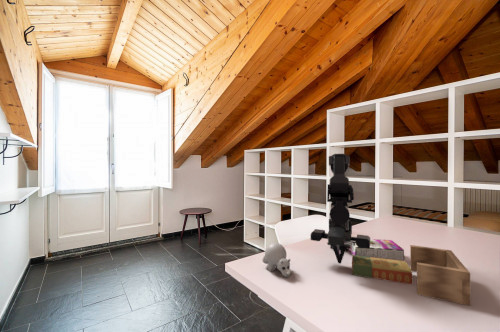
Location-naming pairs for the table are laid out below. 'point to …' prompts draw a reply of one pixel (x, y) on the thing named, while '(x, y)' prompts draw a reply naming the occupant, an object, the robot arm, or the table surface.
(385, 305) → the table surface
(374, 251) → the candy bar box
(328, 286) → the table surface
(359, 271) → the carton
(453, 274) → the book slot
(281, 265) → the chubby cartoon animal
